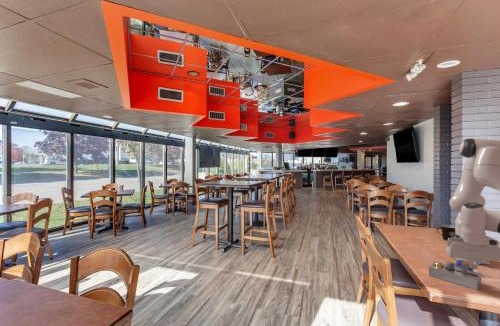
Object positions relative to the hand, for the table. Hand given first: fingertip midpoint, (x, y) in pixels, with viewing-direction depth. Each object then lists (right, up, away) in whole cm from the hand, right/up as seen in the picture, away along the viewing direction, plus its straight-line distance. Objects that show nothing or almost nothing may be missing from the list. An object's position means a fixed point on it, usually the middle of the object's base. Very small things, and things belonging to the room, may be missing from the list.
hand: (472, 268), depth 113 cm
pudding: (+8, -8, +14) cm, 18 cm away
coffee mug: (+41, -8, +67) cm, 79 cm away
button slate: (-5, -4, +6) cm, 9 cm away
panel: (-5, -8, +6) cm, 11 cm away
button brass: (-8, -5, +10) cm, 14 cm away
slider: (-2, -3, +2) cm, 4 cm away
